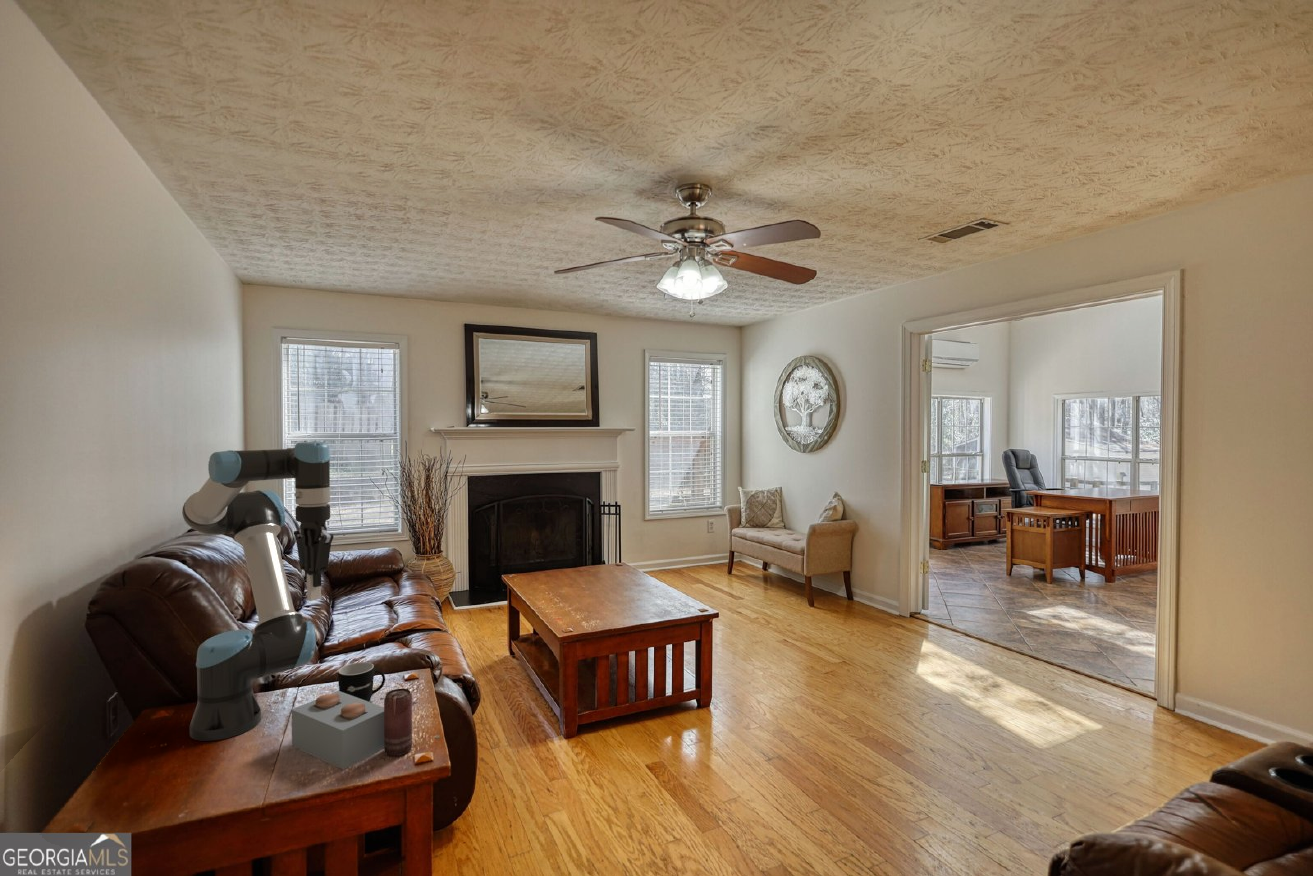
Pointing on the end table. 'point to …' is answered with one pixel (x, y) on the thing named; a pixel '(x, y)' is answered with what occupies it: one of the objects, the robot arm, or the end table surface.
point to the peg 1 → (327, 701)
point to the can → (397, 722)
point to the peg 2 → (353, 711)
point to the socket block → (338, 731)
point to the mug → (358, 680)
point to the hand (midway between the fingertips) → (314, 599)
